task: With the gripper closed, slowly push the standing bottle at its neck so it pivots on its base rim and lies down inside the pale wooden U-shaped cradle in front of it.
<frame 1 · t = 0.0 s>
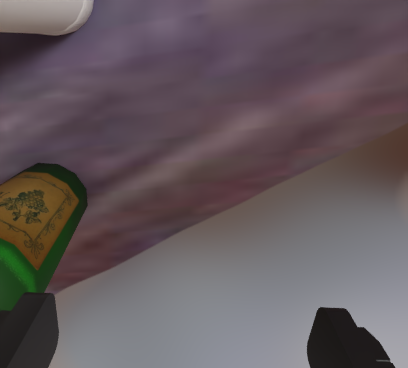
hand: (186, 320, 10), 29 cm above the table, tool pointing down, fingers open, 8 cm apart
bottle 2: (54, 193, 40), on the table
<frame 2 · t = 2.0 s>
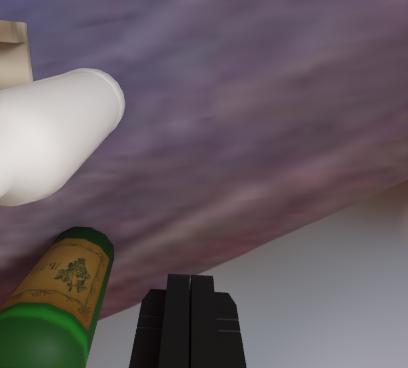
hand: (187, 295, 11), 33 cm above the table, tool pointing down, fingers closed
bottle 2: (86, 248, 49), on the table
bottle: (93, 100, 40), on the table
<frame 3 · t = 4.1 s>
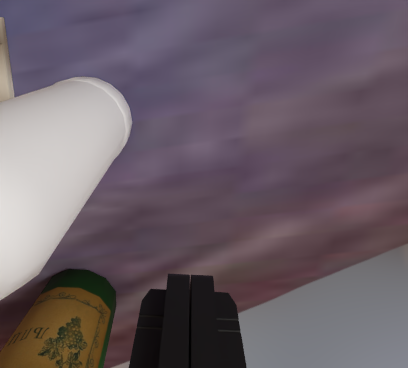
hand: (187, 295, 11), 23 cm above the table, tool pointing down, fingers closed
bottle 2: (83, 293, 40), on the table
bottle: (92, 117, 32), on the table
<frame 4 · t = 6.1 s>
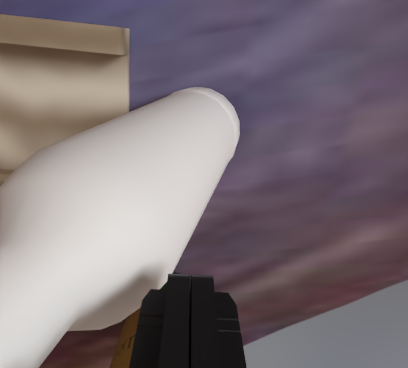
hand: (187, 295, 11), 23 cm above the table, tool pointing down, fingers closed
bottle 2: (168, 295, 41), on the table
bottle: (200, 128, 31), point 1 cm above the table, touching hand
cradle: (12, 108, 31), on the table
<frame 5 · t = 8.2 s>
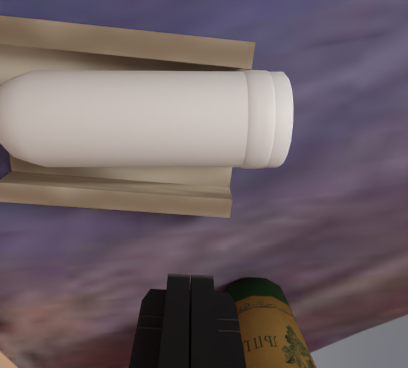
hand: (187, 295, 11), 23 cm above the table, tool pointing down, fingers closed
bottle 2: (251, 300, 42), on the table
bottle: (282, 120, 27), point 5 cm above the table, touching cradle
cradle: (124, 119, 32), on the table
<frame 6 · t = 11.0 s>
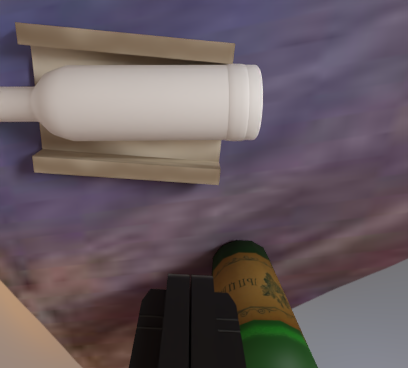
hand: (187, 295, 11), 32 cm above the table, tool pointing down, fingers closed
bottle 2: (239, 261, 49), on the table
bottle: (257, 103, 35), point 5 cm above the table, touching cradle
cradle: (133, 106, 39), on the table
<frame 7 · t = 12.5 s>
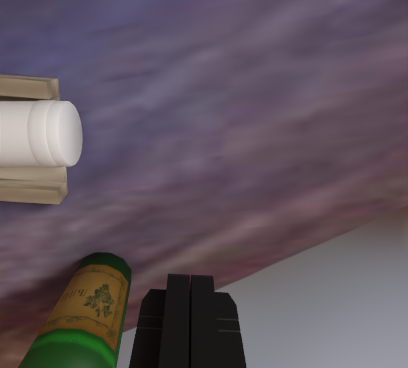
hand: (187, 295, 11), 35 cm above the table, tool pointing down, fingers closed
bottle 2: (106, 271, 54), on the table
bottle: (73, 134, 39), point 5 cm above the table, touching cradle
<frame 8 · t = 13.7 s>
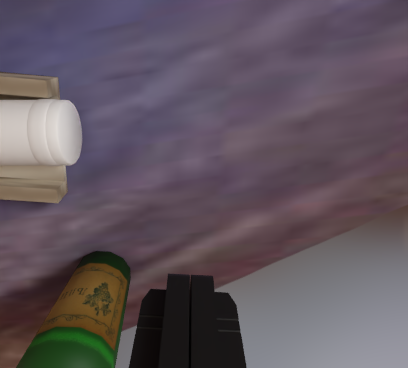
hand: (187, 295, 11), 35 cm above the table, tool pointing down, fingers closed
bottle 2: (105, 270, 54), on the table
bottle: (73, 132, 39), point 5 cm above the table, touching cradle
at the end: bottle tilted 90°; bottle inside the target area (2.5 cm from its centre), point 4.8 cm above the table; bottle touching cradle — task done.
